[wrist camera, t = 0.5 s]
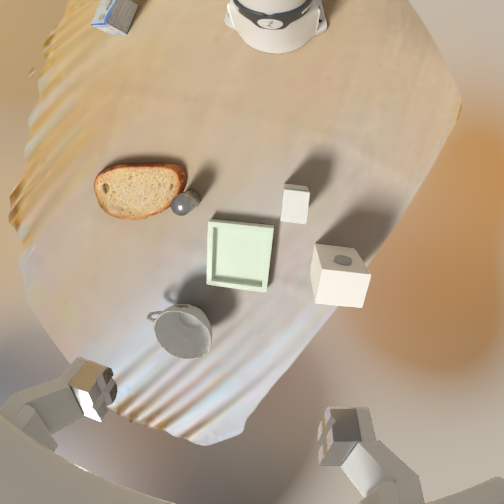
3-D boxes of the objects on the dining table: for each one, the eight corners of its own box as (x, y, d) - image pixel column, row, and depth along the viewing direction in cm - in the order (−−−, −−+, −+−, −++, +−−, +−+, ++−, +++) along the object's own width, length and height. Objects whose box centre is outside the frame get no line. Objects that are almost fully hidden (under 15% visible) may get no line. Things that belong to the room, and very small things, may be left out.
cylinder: (182, 189, 52) (170, 194, 47) (200, 190, 52) (190, 195, 46) (182, 207, 54) (170, 214, 48) (200, 209, 53) (190, 216, 48)
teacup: (225, 303, 60) (217, 325, 52) (212, 345, 64) (204, 367, 57) (160, 280, 60) (145, 297, 52) (154, 323, 64) (140, 342, 57)
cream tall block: (315, 240, 53) (322, 265, 42) (355, 245, 52) (372, 271, 41) (309, 274, 55) (314, 305, 44) (348, 278, 55) (361, 309, 44)
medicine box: (123, 6, 38) (103, -7, 30) (140, 5, 38) (120, -9, 30) (111, 35, 41) (89, 25, 33) (127, 35, 41) (105, 23, 33)
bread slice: (195, 176, 51) (189, 178, 48) (147, 244, 58) (139, 250, 54) (130, 124, 49) (120, 124, 45) (91, 194, 55) (81, 197, 52)
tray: (210, 218, 54) (208, 221, 52) (274, 225, 53) (273, 228, 51) (208, 280, 58) (206, 284, 56) (267, 287, 57) (266, 292, 56)
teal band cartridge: (283, 183, 50) (283, 189, 42) (306, 185, 50) (310, 192, 42) (280, 210, 52) (280, 221, 44) (303, 213, 51) (306, 224, 44)
